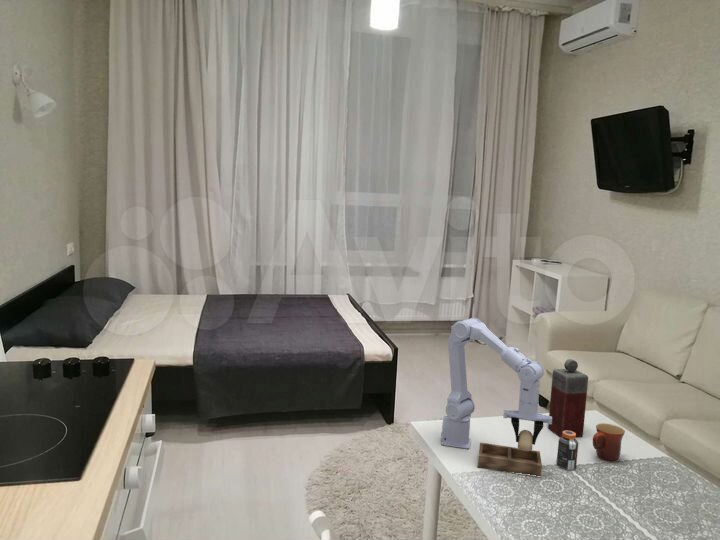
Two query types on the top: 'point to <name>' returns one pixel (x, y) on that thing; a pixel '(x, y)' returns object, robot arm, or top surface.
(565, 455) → the pill bottle
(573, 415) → the red grey square bottle
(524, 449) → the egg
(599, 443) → the mug
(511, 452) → the walnut holder
